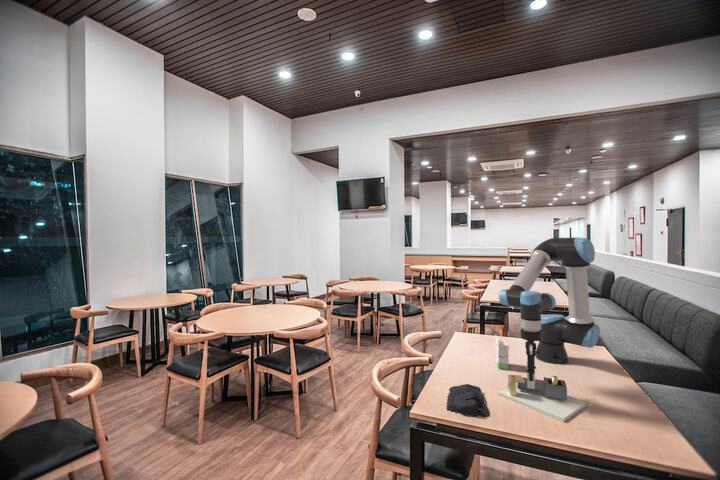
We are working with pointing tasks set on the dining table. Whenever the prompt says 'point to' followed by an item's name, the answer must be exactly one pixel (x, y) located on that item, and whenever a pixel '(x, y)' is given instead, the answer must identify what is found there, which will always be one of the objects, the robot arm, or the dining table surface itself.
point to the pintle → (554, 380)
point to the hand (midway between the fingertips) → (530, 386)
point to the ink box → (501, 354)
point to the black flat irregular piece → (467, 400)
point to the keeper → (514, 383)
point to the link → (547, 387)
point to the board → (546, 403)
